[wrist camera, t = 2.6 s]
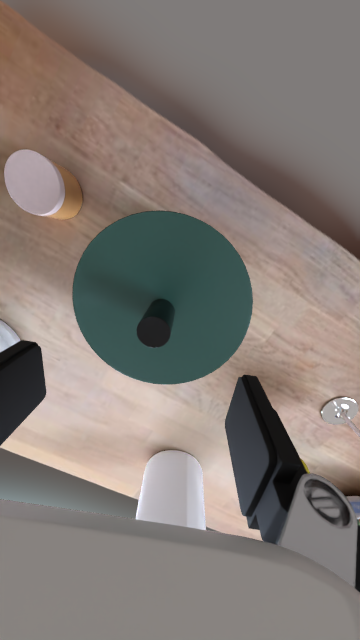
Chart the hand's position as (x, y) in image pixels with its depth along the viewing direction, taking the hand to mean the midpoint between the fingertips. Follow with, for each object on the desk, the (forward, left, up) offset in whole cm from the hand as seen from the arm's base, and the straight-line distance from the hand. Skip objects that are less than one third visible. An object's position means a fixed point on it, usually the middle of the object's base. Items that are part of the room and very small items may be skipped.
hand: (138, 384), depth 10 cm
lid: (0, 0, -12) cm, 12 cm away
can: (+6, -40, -22) cm, 46 cm away
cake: (-16, +10, -22) cm, 29 cm away
